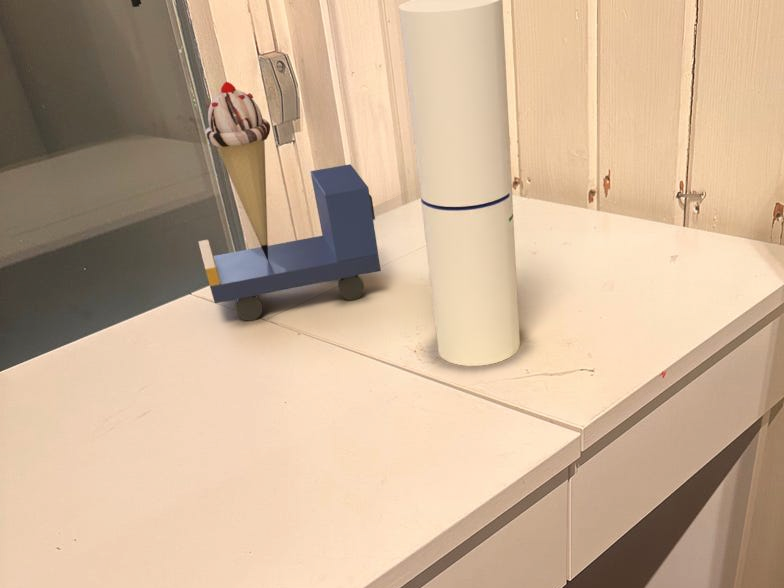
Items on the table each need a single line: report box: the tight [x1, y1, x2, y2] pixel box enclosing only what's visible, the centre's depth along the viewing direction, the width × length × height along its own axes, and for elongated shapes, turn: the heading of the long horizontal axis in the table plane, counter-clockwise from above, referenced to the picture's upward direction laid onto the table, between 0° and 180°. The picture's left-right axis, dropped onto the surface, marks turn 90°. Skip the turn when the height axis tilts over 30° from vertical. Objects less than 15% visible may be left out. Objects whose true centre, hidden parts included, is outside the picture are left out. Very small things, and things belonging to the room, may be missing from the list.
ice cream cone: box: [205, 81, 271, 260], centre depth 83 cm, size 6×6×15 cm
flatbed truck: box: [198, 163, 382, 321], centre depth 88 cm, size 16×8×10 cm, turn 108°
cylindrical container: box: [398, 0, 521, 367], centre depth 71 cm, size 7×7×25 cm
